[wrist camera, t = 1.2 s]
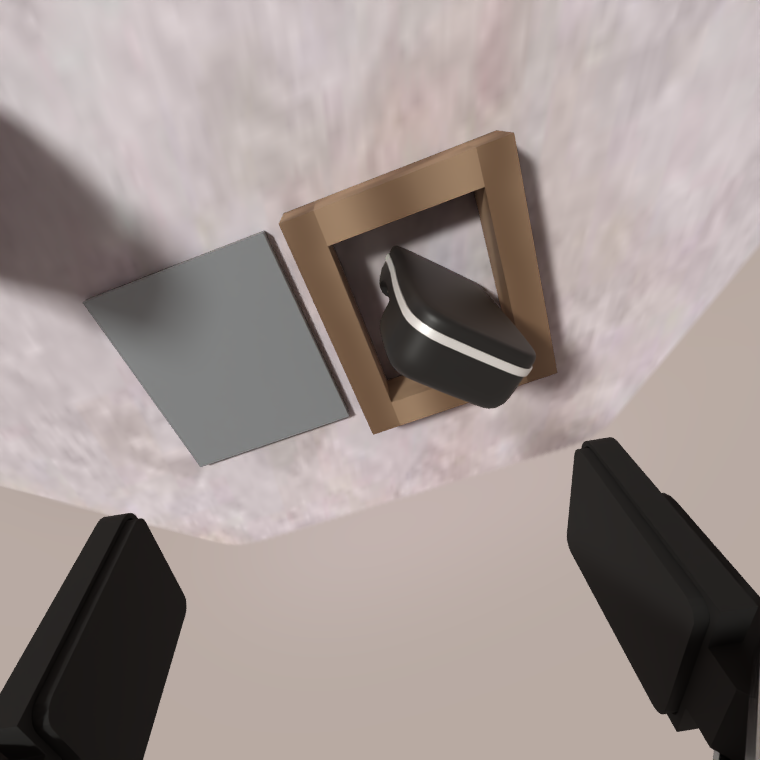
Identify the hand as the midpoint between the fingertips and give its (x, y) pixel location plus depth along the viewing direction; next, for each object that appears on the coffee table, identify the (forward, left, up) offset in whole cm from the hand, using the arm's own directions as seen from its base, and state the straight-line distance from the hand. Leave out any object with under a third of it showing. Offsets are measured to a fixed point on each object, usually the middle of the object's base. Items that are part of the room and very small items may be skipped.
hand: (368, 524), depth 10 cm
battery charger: (-4, +4, -22) cm, 23 cm away
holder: (-4, +4, -22) cm, 23 cm away
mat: (+10, +4, -22) cm, 25 cm away
